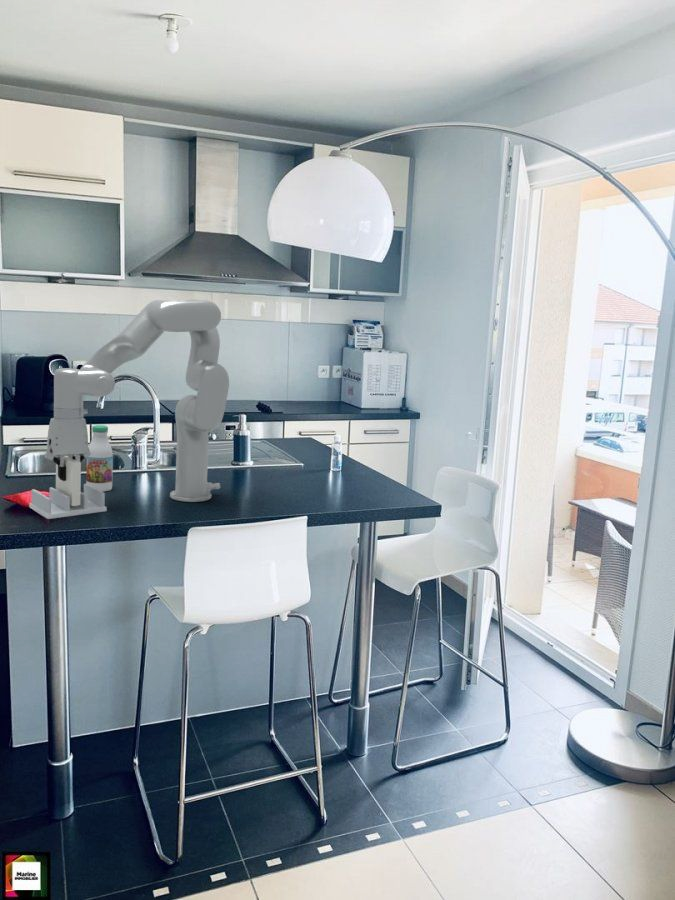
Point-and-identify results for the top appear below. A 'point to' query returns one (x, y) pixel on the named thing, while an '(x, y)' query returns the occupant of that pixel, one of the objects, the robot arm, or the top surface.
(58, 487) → the plate
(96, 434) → the milk bottle
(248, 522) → the top surface
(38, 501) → the dish rack
